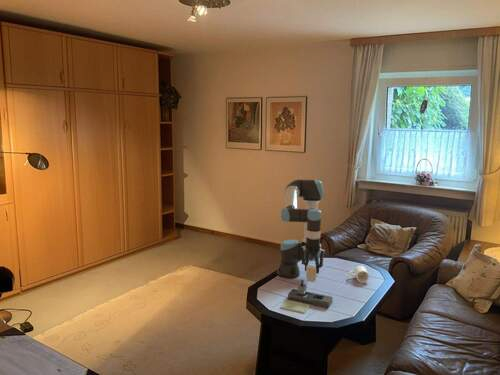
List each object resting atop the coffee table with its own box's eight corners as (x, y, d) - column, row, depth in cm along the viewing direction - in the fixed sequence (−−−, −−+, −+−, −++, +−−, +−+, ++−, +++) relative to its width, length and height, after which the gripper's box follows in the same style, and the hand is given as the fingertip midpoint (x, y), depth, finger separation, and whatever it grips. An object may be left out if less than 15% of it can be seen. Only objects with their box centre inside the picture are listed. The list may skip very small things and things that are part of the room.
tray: (280, 308, 225) (280, 306, 225) (286, 301, 234) (286, 299, 234) (304, 314, 219) (304, 312, 219) (310, 306, 228) (310, 304, 228)
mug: (365, 277, 272) (366, 265, 271) (368, 283, 263) (369, 271, 261) (347, 276, 274) (348, 264, 272) (349, 282, 264) (350, 270, 262)
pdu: (287, 300, 236) (288, 280, 234) (292, 295, 243) (293, 276, 241) (328, 309, 225) (329, 288, 223) (332, 303, 232) (333, 283, 230)
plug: (306, 280, 227) (307, 267, 226) (309, 278, 230) (309, 265, 229) (313, 282, 225) (314, 268, 224) (316, 279, 229) (316, 266, 227)
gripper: (296, 236, 224) (294, 276, 228) (326, 241, 216) (324, 283, 220) (301, 233, 231) (299, 272, 235) (330, 238, 223) (328, 278, 227)
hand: (311, 277), depth 228 cm, fingers closed on plug, 4 cm apart
